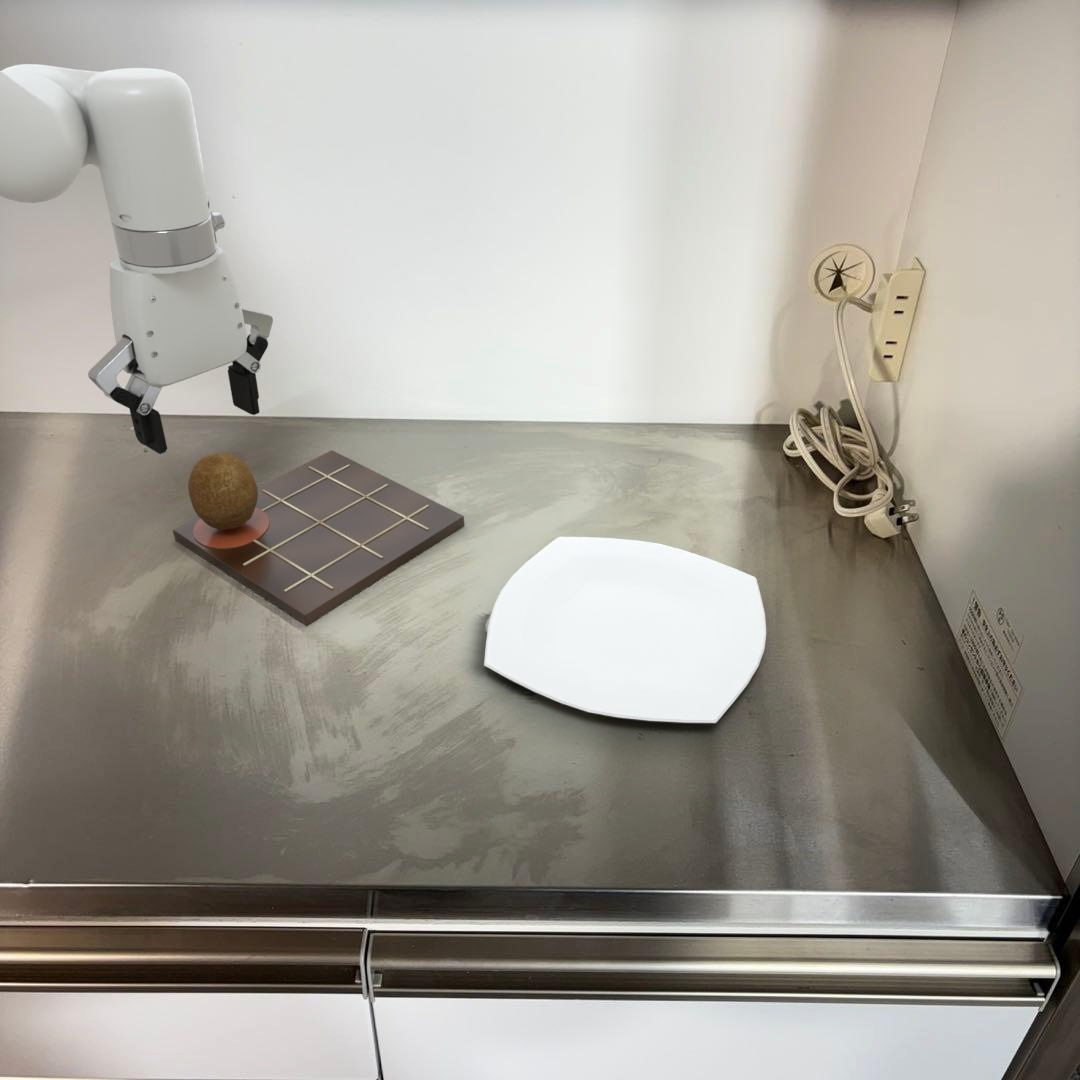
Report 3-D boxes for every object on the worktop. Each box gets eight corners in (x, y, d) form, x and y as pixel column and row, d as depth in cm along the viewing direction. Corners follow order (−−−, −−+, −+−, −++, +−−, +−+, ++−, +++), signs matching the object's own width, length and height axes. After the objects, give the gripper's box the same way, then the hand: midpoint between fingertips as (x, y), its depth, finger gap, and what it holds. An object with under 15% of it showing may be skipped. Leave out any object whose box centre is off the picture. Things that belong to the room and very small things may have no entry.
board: (174, 539, 95) (171, 528, 94) (333, 459, 107) (331, 448, 106) (306, 626, 84) (304, 614, 83) (464, 525, 97) (464, 514, 96)
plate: (543, 535, 95) (544, 519, 94) (781, 584, 89) (784, 567, 88) (449, 692, 78) (448, 674, 77) (736, 767, 72) (740, 749, 70)
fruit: (232, 501, 98) (217, 432, 93) (277, 520, 95) (264, 449, 90) (183, 531, 93) (165, 460, 89) (230, 552, 91) (213, 480, 86)
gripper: (228, 207, 85) (255, 384, 95) (38, 254, 74) (90, 449, 84) (282, 227, 81) (304, 409, 91) (90, 279, 70) (139, 480, 80)
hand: (202, 428), depth 88 cm, fingers open, 9 cm apart
